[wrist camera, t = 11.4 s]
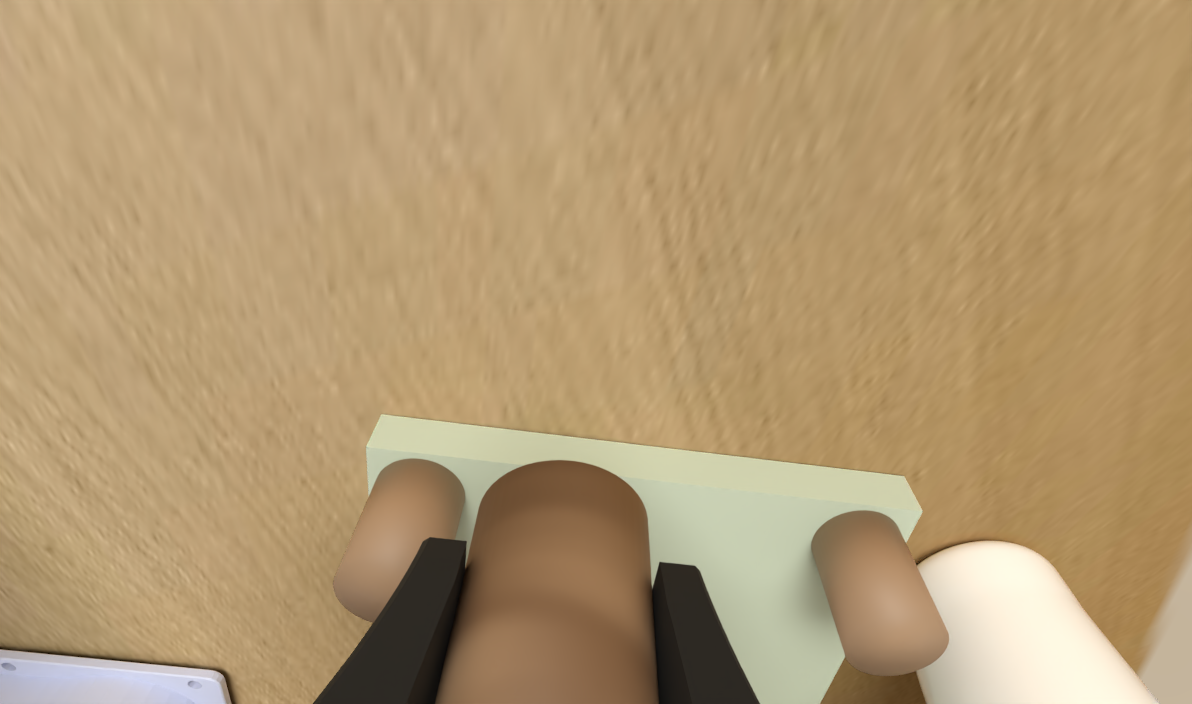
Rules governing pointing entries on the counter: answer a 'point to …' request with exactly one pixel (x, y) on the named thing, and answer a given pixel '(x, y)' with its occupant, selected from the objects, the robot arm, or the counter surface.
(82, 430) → the counter surface
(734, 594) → the board
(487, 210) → the counter surface
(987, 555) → the white tumbler
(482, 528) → the leg peg
